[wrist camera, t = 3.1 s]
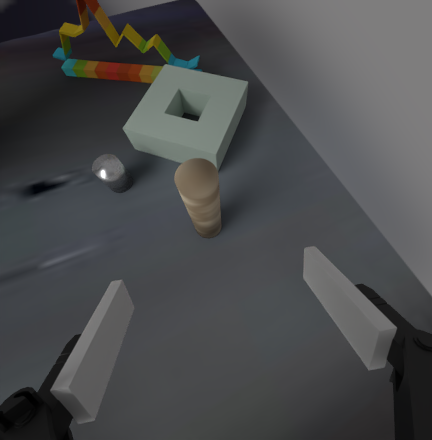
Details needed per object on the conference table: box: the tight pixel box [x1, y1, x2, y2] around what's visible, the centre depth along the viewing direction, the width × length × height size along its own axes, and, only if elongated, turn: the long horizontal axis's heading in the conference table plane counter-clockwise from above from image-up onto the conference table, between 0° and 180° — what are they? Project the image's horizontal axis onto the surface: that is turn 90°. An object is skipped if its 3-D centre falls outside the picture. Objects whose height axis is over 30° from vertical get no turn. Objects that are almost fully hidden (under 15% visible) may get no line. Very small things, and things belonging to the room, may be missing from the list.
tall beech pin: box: [175, 158, 221, 238], centre depth 25 cm, size 4×4×14 cm
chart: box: [53, 0, 202, 83], centre depth 38 cm, size 30×3×15 cm, turn 80°
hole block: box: [123, 64, 248, 171], centre depth 36 cm, size 16×16×5 cm
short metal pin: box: [92, 154, 133, 193], centre depth 33 cm, size 4×4×5 cm
